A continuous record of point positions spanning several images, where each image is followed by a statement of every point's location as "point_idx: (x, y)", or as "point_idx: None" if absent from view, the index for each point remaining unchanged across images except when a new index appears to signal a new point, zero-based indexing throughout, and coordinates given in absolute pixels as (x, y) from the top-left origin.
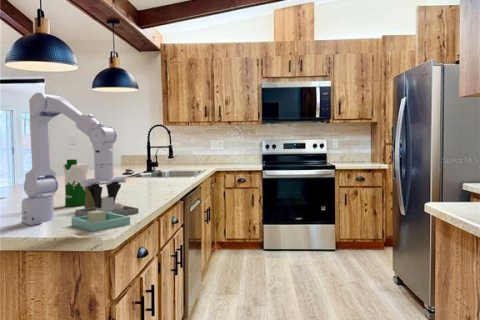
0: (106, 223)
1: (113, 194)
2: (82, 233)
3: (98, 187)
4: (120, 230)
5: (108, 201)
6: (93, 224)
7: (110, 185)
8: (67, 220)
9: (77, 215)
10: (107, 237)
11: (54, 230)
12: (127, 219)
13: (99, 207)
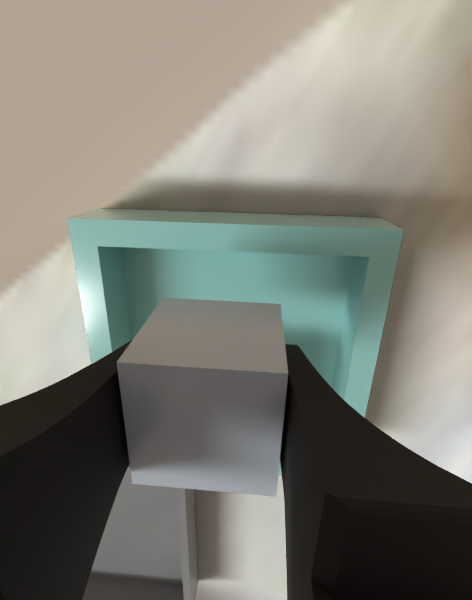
0: (278, 222)
1: (93, 399)
2: (409, 270)
3: (461, 513)
4: (213, 142)
5: (202, 343)
6: (390, 228)
7: (28, 597)
8: (262, 552)
9: (196, 577)
10: (405, 5)
11: (435, 441)
12: (99, 217)
13: (294, 347)
